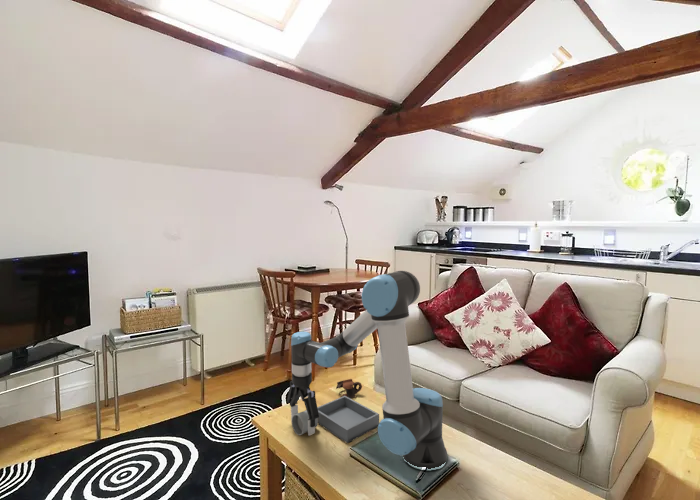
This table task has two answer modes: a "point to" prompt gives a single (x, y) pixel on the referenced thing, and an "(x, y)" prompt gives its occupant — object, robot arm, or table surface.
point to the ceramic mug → (301, 422)
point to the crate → (347, 418)
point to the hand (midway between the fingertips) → (302, 427)
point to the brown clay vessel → (349, 387)
